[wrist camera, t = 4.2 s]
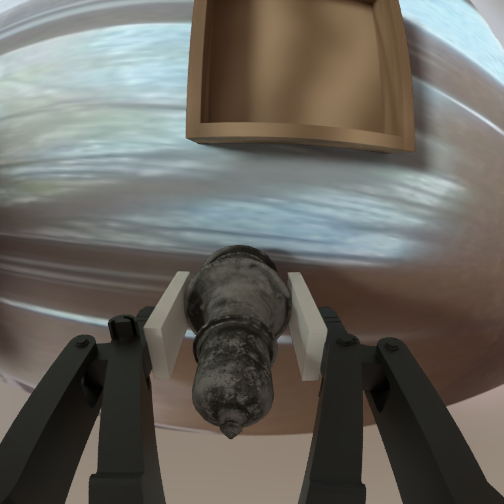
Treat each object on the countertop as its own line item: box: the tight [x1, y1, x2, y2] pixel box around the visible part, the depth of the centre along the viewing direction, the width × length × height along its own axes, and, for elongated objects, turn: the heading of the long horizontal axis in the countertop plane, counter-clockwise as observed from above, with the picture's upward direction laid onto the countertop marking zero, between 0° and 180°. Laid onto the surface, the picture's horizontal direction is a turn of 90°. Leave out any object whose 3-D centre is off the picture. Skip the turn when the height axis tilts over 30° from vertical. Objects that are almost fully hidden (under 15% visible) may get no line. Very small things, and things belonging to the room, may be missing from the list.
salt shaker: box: [184, 245, 292, 439], centre depth 13 cm, size 6×6×12 cm
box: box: [186, 0, 415, 153], centre depth 15 cm, size 14×14×4 cm
